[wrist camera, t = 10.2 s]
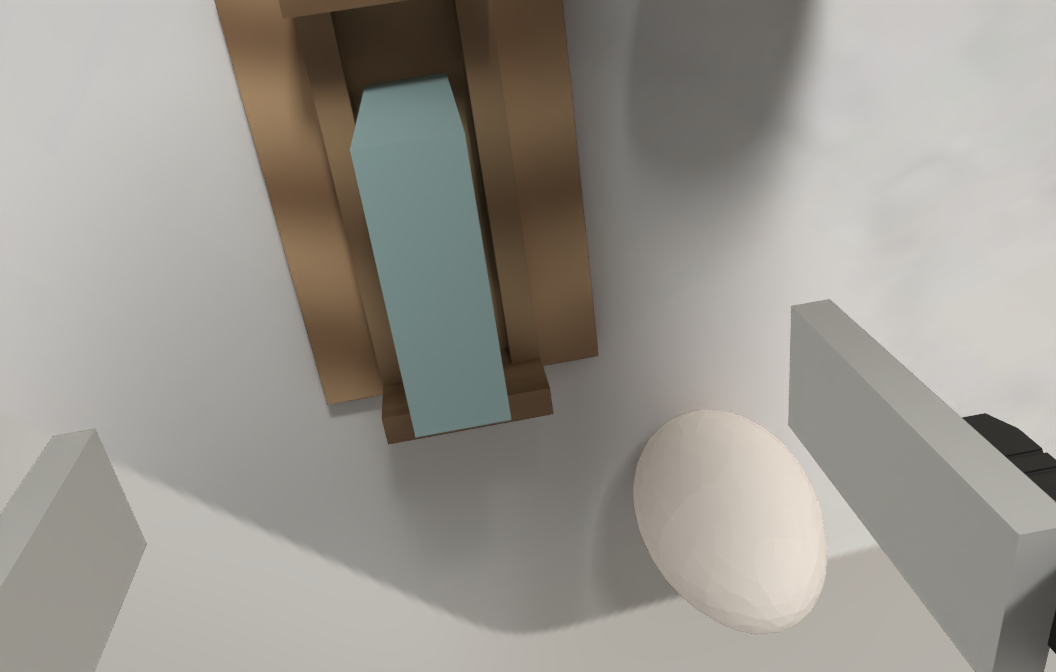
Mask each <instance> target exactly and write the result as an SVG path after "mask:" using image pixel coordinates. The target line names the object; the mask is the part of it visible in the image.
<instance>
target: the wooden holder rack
mask: <svg viewBox="0 0 1056 672" xmlns="http://www.w3.org/2000/svg"><path fill="white" fill-rule="evenodd" d="M214 1H215V4H216V8H217V12H218V15H219V19H220V22H221V26H222V29H223V33H224V36H225V40H226V44H227V47H228V51H229V54H230V58H231V61H232V65H233V69H234V72H235V76H236V79H237V83H238V86H239V90H240V94H241V97H242V101H243V104H244V108H245V111H246V115H247V119H248V122H249V126H250V129H251V133H252V136H253V140H254V144H255V147H256V151H257V154H258V158H259V161H260V165H261V169H262V172H263V176H264V179H265V183H266V186H267V190H268V194H269V197H270V201H271V204H272V208H273V211H274V215H275V219H276V222H277V226H278V229H279V233H280V236H281V240H282V244H283V247H284V251H285V254H286V258H287V261H288V265H289V269H290V272H291V276H292V279H293V283H294V286H295V290H296V294H297V297H298V301H299V304H300V308H301V311H302V315H303V319H304V322H305V326H306V329H307V333H308V336H309V340H310V344H311V347H312V351H313V354H314V358H315V361H316V365H317V369H318V372H319V376H320V379H321V383H322V386H323V390H324V394H325V397H326V401H327V404H334V403H339V402H345V401H351V400H356V399H362V398H367V397H373V396H378V395H383V404H382V421H383V425H384V429H385V433H386V437H387V441H388V444H393V443H398V442H404V441H409V440H414V439H420V438H425V437H431V436H436V435H442V434H447V433H452V432H458V431H463V430H469V429H474V428H480V427H485V426H490V425H496V424H501V423H507V422H512V421H518V420H523V419H529V418H534V417H539V416H545V415H550V414H553V408H552V401H551V393H550V387H549V384H548V381H547V378H546V375H545V372H544V369H543V366H545V365H550V364H556V363H561V362H567V361H573V360H578V359H584V358H589V357H595V356H598V347H597V337H596V327H595V317H594V307H593V298H592V288H591V278H590V268H589V258H588V248H587V239H586V229H585V219H584V209H583V199H582V189H581V180H580V170H579V160H578V150H577V140H576V130H575V121H574V111H573V101H572V91H571V81H570V71H569V62H568V52H567V42H566V32H565V22H564V12H563V3H562V0H214ZM445 72H446V74H447V77H448V80H449V83H450V86H451V90H452V93H453V96H454V99H455V103H456V106H457V109H458V112H459V115H460V119H461V122H462V125H463V128H464V132H465V138H466V144H467V150H468V156H469V162H470V169H471V175H472V181H473V187H474V193H475V199H476V205H477V212H478V218H479V224H480V230H481V236H482V242H483V248H484V254H485V261H486V267H487V273H488V279H489V285H490V291H491V297H492V304H493V310H494V316H495V322H496V328H497V334H498V340H499V346H500V353H501V359H502V365H503V371H504V377H505V383H506V389H507V396H508V402H509V408H510V414H511V420H508V421H503V422H497V423H492V424H486V425H481V426H475V427H470V428H465V429H459V430H454V431H448V432H443V433H437V434H432V435H427V436H421V437H415V433H414V428H413V424H412V420H411V415H410V411H409V407H408V402H407V398H406V393H405V389H404V385H403V380H402V376H401V372H400V367H399V363H398V358H397V354H396V350H395V345H394V341H393V336H392V332H391V328H390V323H389V319H388V315H387V310H386V306H385V301H384V297H383V293H382V288H381V284H380V280H379V275H378V271H377V266H376V262H375V258H374V253H373V249H372V244H371V240H370V236H369V231H368V227H367V223H366V218H365V214H364V209H363V205H362V201H361V196H360V192H359V188H358V183H357V179H356V174H355V170H354V166H353V161H352V157H351V152H350V147H351V143H352V139H353V134H354V130H355V126H356V121H357V117H358V113H359V109H360V104H361V100H362V96H363V91H364V87H365V85H368V84H374V83H381V82H387V81H394V80H400V79H406V78H413V77H419V76H426V75H432V74H438V73H445Z"/></svg>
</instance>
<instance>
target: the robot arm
mask: <svg viewBox="0 0 1056 672" xmlns="http://www.w3.org/2000/svg"><path fill="white" fill-rule="evenodd" d="M788 425H789V427H790V428H791V429H792V431H793V432H794V433H795V435H796V436H797V437H798V439H799V440H800V441H801V443H802V444H803V445H804V446H805V448H806V449H807V450H808V452H809V453H810V454H811V456H812V457H813V458H814V460H815V461H816V462H817V464H818V465H819V466H820V468H821V469H822V470H823V472H824V473H825V474H826V476H827V477H828V478H829V480H830V481H831V482H832V483H833V485H834V486H835V487H836V489H837V490H838V491H839V493H840V494H841V495H842V497H843V498H844V499H845V501H846V502H847V503H848V505H849V506H850V507H851V509H852V510H853V511H854V513H855V514H856V515H857V516H858V518H859V519H860V520H861V522H862V523H863V524H864V526H865V527H866V528H867V530H868V531H869V532H870V534H871V535H872V536H873V538H874V539H875V540H876V542H877V543H878V544H879V546H880V547H881V548H882V550H883V551H884V552H885V553H886V555H887V556H888V557H889V559H890V560H891V561H892V563H893V564H894V565H895V566H896V568H897V569H898V571H899V572H900V573H901V574H902V576H903V577H904V579H905V580H906V581H907V582H908V584H909V585H910V586H911V588H912V589H913V590H914V592H915V593H916V594H917V596H918V597H919V598H920V600H921V601H922V602H923V604H924V605H925V606H926V607H927V609H928V610H929V612H930V613H931V614H932V616H933V617H934V618H935V619H936V621H937V622H938V623H939V625H940V626H941V627H942V629H943V630H944V631H945V633H946V634H947V635H948V637H949V638H950V639H951V641H952V642H953V643H954V645H955V646H956V647H957V649H958V650H959V651H960V652H961V654H962V655H963V656H964V658H965V659H966V660H967V662H968V663H969V664H970V666H971V667H972V668H973V670H974V671H975V672H1044V669H1045V665H1046V661H1047V656H1048V652H1049V648H1051V649H1052V650H1053V651H1054V652H1055V653H1056V460H1055V459H1054V458H1053V457H1052V456H1051V455H1049V454H1048V453H1043V451H1042V448H1041V447H1040V446H1039V445H1037V444H1036V443H1035V442H1034V441H1033V440H1031V439H1030V438H1029V437H1028V436H1027V435H1025V434H1024V433H1023V432H1022V431H1021V430H1019V429H1018V428H1016V427H1014V426H1012V425H1010V424H1007V423H1005V422H1003V421H1001V420H999V419H996V418H994V417H992V416H990V415H988V414H986V413H984V414H979V415H974V416H968V417H963V418H962V417H960V416H959V415H958V414H957V413H956V412H955V411H954V410H953V409H951V408H950V407H949V406H948V405H947V404H946V403H945V402H944V401H943V400H941V399H940V398H939V397H938V396H937V395H936V394H935V393H934V392H933V391H931V390H930V389H929V388H928V387H927V386H926V385H925V384H924V383H923V382H921V381H920V380H919V379H918V378H917V377H916V376H915V375H914V374H913V373H911V372H910V371H909V370H908V369H907V368H906V367H905V366H904V365H903V364H901V363H900V362H899V361H898V360H897V359H896V358H895V357H894V356H892V355H891V354H890V353H889V352H888V351H887V350H886V349H885V348H884V347H882V346H881V345H880V344H879V343H878V342H877V341H876V340H875V339H874V338H872V337H871V336H870V335H869V334H868V333H867V332H866V331H865V330H864V329H862V328H861V327H860V326H859V325H858V324H857V323H856V322H855V321H854V320H852V319H851V318H850V317H849V316H848V315H847V314H846V313H845V312H843V311H842V310H841V309H840V308H839V307H838V306H837V305H836V304H835V303H833V302H832V301H831V300H830V299H828V300H822V301H817V302H811V303H805V304H800V305H794V306H791V340H790V379H789V418H788ZM145 547H146V542H145V539H144V537H143V535H142V533H141V530H140V528H139V526H138V524H137V521H136V519H135V517H134V515H133V512H132V510H131V508H130V506H129V503H128V501H127V499H126V496H125V494H124V492H123V490H122V487H121V486H120V483H119V481H118V478H117V476H116V474H115V472H114V469H113V467H112V465H111V463H110V460H109V458H108V456H107V454H106V451H105V449H104V447H103V445H102V442H101V440H100V438H99V436H98V433H97V431H96V429H91V430H86V431H80V432H74V433H69V434H63V435H57V436H52V438H51V439H50V441H49V442H48V444H47V445H46V447H45V448H44V450H43V451H42V453H41V454H40V456H39V457H38V459H37V460H36V462H35V463H34V465H33V466H32V468H31V469H30V471H29V472H28V474H27V475H26V477H25V478H24V479H23V481H22V483H21V484H20V486H19V487H18V488H17V490H16V491H15V493H14V495H13V496H12V497H11V499H10V501H9V502H8V503H7V505H6V507H5V508H4V509H3V511H2V512H1V514H0V672H95V670H96V668H97V665H98V663H99V660H100V658H101V655H102V653H103V650H104V648H105V645H106V643H107V641H108V638H109V636H110V633H111V631H112V628H113V626H114V623H115V620H116V618H117V616H118V613H119V611H120V609H121V606H122V604H123V601H124V598H125V596H126V594H127V591H128V589H129V586H130V584H131V582H132V579H133V577H134V574H135V572H136V569H137V567H138V564H139V562H140V559H141V557H142V555H143V552H144V550H145Z"/></svg>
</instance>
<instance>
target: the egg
mask: <svg viewBox="0 0 1056 672" xmlns="http://www.w3.org/2000/svg"><path fill="white" fill-rule="evenodd" d="M633 492H634V508H635V513H636V518H637V523H638V526H639V530H640V534H641V536H642V538H643V540H644V543H645V545H646V547H647V549H648V551H649V553H650V556H651V558H652V560H653V561H654V563H655V564H656V566H657V567H658V569H659V570H660V572H661V573H662V574H663V576H664V577H665V579H666V580H667V582H668V583H669V584H670V585H671V586H672V587H673V588H674V589H675V590H676V591H677V592H678V593H679V594H680V595H681V596H682V597H683V598H684V599H686V600H687V601H688V602H689V603H690V604H691V605H693V606H694V607H695V608H696V609H697V610H699V611H700V612H702V613H704V614H705V615H707V616H709V617H710V618H712V619H714V620H715V621H717V622H719V623H720V624H722V625H725V626H727V627H730V628H732V629H735V630H738V631H741V632H746V633H751V634H768V633H778V632H780V631H783V630H785V629H787V628H789V627H791V626H794V625H796V624H798V623H799V621H801V620H802V619H803V618H804V617H805V616H806V615H807V614H808V613H809V612H810V611H811V610H812V609H813V607H814V605H815V603H816V600H817V599H818V597H819V595H820V593H821V590H822V587H823V584H824V580H825V576H826V563H827V542H826V536H825V529H824V523H823V517H822V513H821V508H820V505H819V503H818V500H817V498H816V496H815V493H814V491H813V489H812V487H811V485H810V482H809V480H808V478H807V476H806V474H805V473H804V471H803V469H802V468H801V466H800V465H799V463H798V462H797V460H796V459H795V458H794V457H793V455H792V454H791V453H790V452H789V451H788V450H787V448H786V447H785V446H784V445H783V444H782V443H781V442H780V441H779V440H778V439H777V438H776V437H775V436H773V435H772V434H771V433H770V432H768V431H767V430H766V429H765V428H763V427H761V426H759V425H757V424H756V423H754V422H752V421H750V420H748V419H746V418H744V417H742V416H739V415H737V414H732V413H727V412H722V411H717V410H698V411H694V412H689V413H685V414H681V415H679V416H677V417H676V418H674V419H672V420H670V421H668V422H667V423H665V424H664V425H663V426H662V427H661V428H660V429H659V430H658V431H657V432H656V433H655V434H654V435H653V436H652V437H651V438H650V439H649V441H648V442H647V444H646V445H645V447H644V449H643V452H642V454H641V456H640V459H639V461H638V463H637V467H636V473H635V479H634V484H633Z"/></svg>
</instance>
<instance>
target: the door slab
mask: <svg viewBox="0 0 1056 672" xmlns="http://www.w3.org/2000/svg"><path fill="white" fill-rule="evenodd" d="M350 152H351V157H352V161H353V166H354V170H355V174H356V179H357V183H358V188H359V192H360V196H361V201H362V205H363V209H364V214H365V218H366V223H367V227H368V231H369V236H370V240H371V244H372V249H373V253H374V258H375V262H376V266H377V271H378V275H379V280H380V284H381V288H382V293H383V297H384V301H385V306H386V310H387V315H388V319H389V323H390V328H391V332H392V336H393V341H394V345H395V350H396V354H397V358H398V363H399V367H400V372H401V376H402V380H403V385H404V389H405V393H406V398H407V402H408V407H409V411H410V415H411V420H412V424H413V428H414V433H415V437H421V436H427V435H432V434H437V433H443V432H448V431H454V430H459V429H465V428H470V427H475V426H481V425H486V424H492V423H497V422H503V421H508V420H511V414H510V408H509V402H508V396H507V389H506V383H505V377H504V371H503V365H502V359H501V353H500V346H499V340H498V334H497V328H496V322H495V316H494V310H493V304H492V297H491V291H490V285H489V279H488V273H487V267H486V261H485V254H484V248H483V242H482V236H481V230H480V224H479V218H478V212H477V205H476V199H475V193H474V187H473V181H472V175H471V169H470V162H469V156H468V150H467V144H466V138H465V132H464V128H463V125H462V122H461V119H460V115H459V112H458V109H457V106H456V103H455V99H454V96H453V93H452V90H451V86H450V83H449V80H448V77H447V74H446V72H445V73H438V74H432V75H426V76H419V77H413V78H406V79H400V80H394V81H387V82H381V83H374V84H368V85H365V87H364V91H363V96H362V100H361V104H360V109H359V113H358V117H357V121H356V126H355V130H354V134H353V139H352V143H351V147H350Z"/></svg>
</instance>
